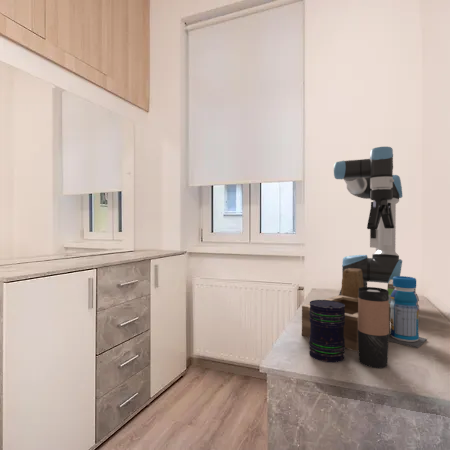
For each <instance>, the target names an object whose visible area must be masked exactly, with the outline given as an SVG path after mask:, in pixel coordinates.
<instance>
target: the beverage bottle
mask: <svg viewBox="0 0 450 450" xmlns="http://www.w3.org/2000/svg"><path fill="white" fill-rule="evenodd" d="M393 287H395V289H394V290H393V292H392V293H391V296H390V298H391V300H392V301H391V303H390V308H391V320H390V332H389V334H391V336H392V337H393V338H394V339H397V340H400V341H405V342H415V341H418V340H419V337H420V336H419V335H420V334H419V311H420V305H419V302H420V299H419V295H418V294H417V292H415V291H414V289H417V278H416V277H412V276H405V275H404V276H403V275H400V276H395V277H393Z"/></svg>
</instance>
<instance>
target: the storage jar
mask: <svg viewBox="0 0 450 450" xmlns="http://www.w3.org/2000/svg"><path fill="white" fill-rule="evenodd" d="M309 304H310V311H309V315H310V318H309V319H310V337H308V338H309V340H308V346H309V351H308V354H309V356H310V357H311V358H313V359H314V360H317V361H318V362H323V363H331V364H332V363H334V364H335V363H340V362H344V361H345V350H346V348H345V339H344V325H345V310H344V309H345V305H344V304H343V303H341V302H337V301H331V300H324V299H315V300H311V301H309Z"/></svg>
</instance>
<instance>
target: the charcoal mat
mask: <svg viewBox="0 0 450 450" xmlns="http://www.w3.org/2000/svg"><path fill="white" fill-rule="evenodd" d="M427 340H428V338H425V337H420V336H419V340H418V341H415V342H405V341H400V340H397V339H394V338H393V337H392V336H391V334H390V333H389V341H388V342H391V343H395V344H398V345H402V346H408V347H411V348H415V349H418V348H420V346H422V345H423V344H424V343H426V342H427Z"/></svg>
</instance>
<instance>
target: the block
mask: <svg viewBox="0 0 450 450" xmlns="http://www.w3.org/2000/svg"><path fill="white" fill-rule="evenodd" d="M361 287H363V274H362V270H361V269H357V268H348V269H345V270H344V271H343V277H342V278H341V287H340V290H341V295H343V296H349V297H355V298H358V296H359V290H358V289H359V288H361Z"/></svg>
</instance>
